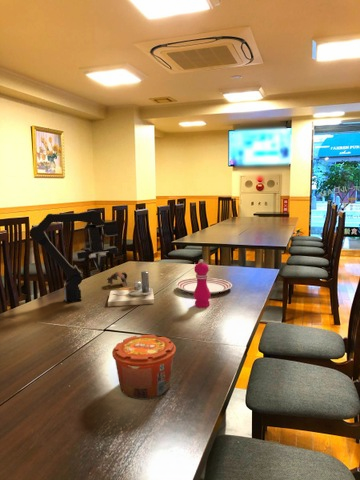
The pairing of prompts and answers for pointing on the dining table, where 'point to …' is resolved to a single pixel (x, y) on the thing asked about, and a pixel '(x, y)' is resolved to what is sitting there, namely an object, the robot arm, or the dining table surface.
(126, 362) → the food container
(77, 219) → the robot arm
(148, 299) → the stand
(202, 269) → the pepper mill
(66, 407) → the dining table surface
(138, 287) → the shiny grey rounded pieces
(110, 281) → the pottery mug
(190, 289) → the dinner plate
